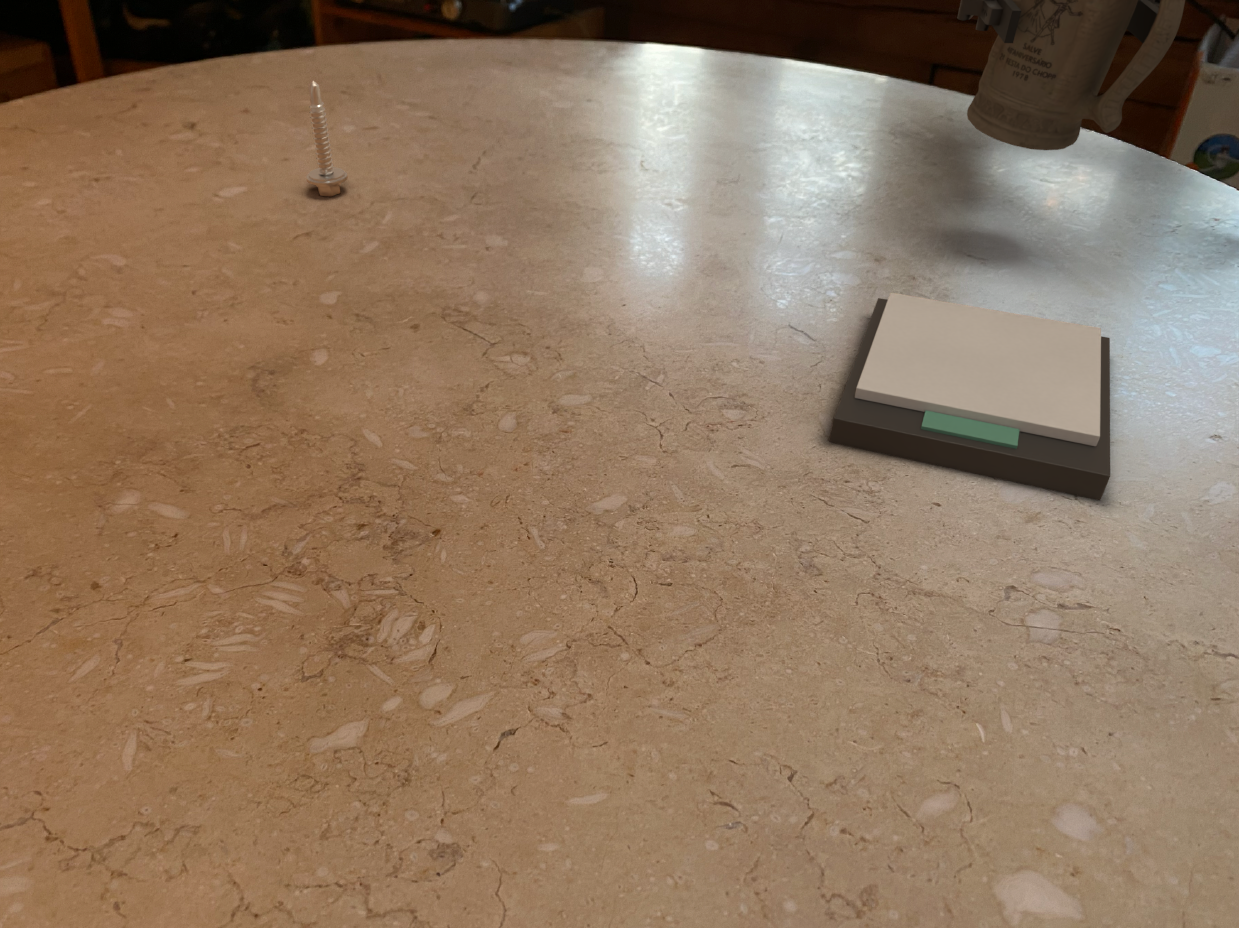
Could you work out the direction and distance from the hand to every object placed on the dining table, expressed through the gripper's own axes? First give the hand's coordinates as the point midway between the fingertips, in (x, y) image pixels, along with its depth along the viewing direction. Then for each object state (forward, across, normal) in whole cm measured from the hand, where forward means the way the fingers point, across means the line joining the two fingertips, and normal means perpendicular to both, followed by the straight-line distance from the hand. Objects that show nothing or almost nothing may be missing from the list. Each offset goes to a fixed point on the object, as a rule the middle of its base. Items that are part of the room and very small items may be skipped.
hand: (1084, 29), depth 92 cm
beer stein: (-4, 0, -11) cm, 11 cm away
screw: (-13, +77, -24) cm, 81 cm away
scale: (+26, +8, -24) cm, 36 cm away
